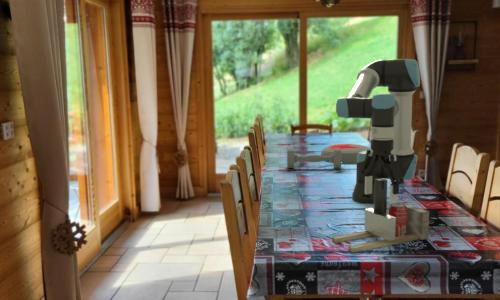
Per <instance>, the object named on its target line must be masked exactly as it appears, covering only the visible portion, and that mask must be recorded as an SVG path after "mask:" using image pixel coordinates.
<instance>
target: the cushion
mask: <svg viewBox="0 0 500 300" xmlns="http://www.w3.org/2000/svg"><path fill="white" fill-rule="evenodd" d="M334 148H340V149H341V155H342V162H343V163H342V164H357V163H356V161H357V155H358V153H359V152H362V151H366V150H372V149H371V147H369V146H366V145H361V144H357V143H353V144H352V143H339V144H331V145H328V146H326V147H323V149H322V150H321V152H320V155H321V156H330V155H331V154H333V152H334Z"/></svg>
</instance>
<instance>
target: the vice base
mask: <svg viewBox="0 0 500 300" xmlns="http://www.w3.org/2000/svg"><path fill="white" fill-rule="evenodd" d="M398 203H403V204H405V205H406V208H407V221H406V235H405V236H399V237H395V240H391V241H387V240H385V239H380V240H373V241H370V242H365V243H364V242H363V243H359V244H355V245H354V244H353V245H349V246H348V252H349V253H357V252H362V251H368V250H372V249H377V248H382V247H386V246H393V245H397V244H401V243H407V242H411V241H412V242H413V241H417V240H421V241H422V240H427V239H429V226H430V225H429V223H430V211H429V210H426V209H422V208H421V207H418V206H417V207H416V206H414V205H411V204H408V203H405V202H403V201H400V202H398ZM373 236H375V235H374V234H372V233H370V232H368V231H366V230H363V231H362V230H361V231H358V232H352V233H346V234H341V235H336V236H332V237H331V241H332V242H333V243H341V242H347V241H352V240H356V239H357V240H358V239H362V238H366V237H367V238H369V237H373Z"/></svg>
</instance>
